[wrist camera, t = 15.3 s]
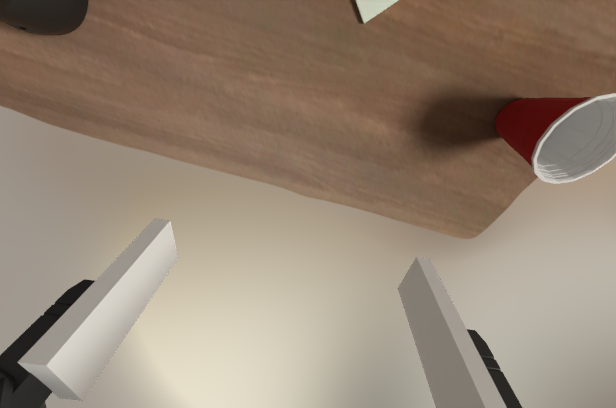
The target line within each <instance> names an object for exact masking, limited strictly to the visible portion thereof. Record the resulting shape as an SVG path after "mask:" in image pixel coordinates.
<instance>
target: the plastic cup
mask: <svg viewBox="0 0 616 408" xmlns="http://www.w3.org/2000/svg"><path fill="white" fill-rule="evenodd" d="M495 129H496V131H497V133H498V134H499V135H500V136H501V137H502V138H503V139H504V140H505V141H506V142H507V143H508V144H509V145H510V146H511V147H512V148H513V149H514V150H515V151H517V152H518V153H519V154H520V155H521V156H522V157H523V158H524V159H525V160H526V161H527V162H528V163H529V164H530V165H531V166H532V169H533V172H534V173H535V174H536V175H537V176H538V177H539V178H540V179H541V180H542V181H544V182H549V183H554V184H559V183H565V182H571V181H575V180H577V179H579V178H582V177H584V176H586V175H588V174H591V173H593V172H595V171H596V170H597V169H599V168H600V167H602V166H603V165H605V164H606V163H608V162H609V161H611V160H612V159H613V158H614V157H615V156H616V93H612V94H606V95H601V96H595V97H584V98H525V99H519V100H515V101H513V102H511V103H509V104H508V105H506V106H505V107H504V108H503V109H502V110H501V111H500V113H499V114H498V116H497V117H496V121H495Z"/></svg>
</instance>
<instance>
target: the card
mask: <svg viewBox="0 0 616 408" xmlns="http://www.w3.org/2000/svg"><path fill="white" fill-rule="evenodd" d="M355 1H356V4H357V7H358V10H359V12H360V15H361V18H362V21H363V24H364V23H365V22H367V21H368V20H370V19H371V18H373V17H374V16H376V15H377V14H379V13H380V12H382V11H383V10H385V9H386V8H388V7H389V6H391V5H392V4H394V3H395V2H397V1H398V0H355Z"/></svg>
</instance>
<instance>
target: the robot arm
mask: <svg viewBox="0 0 616 408" xmlns="http://www.w3.org/2000/svg"><path fill="white" fill-rule="evenodd" d="M87 7H88V0H0V21H4V22H6V23H7V24H9V25H12V26H14V27H16V28H19V29H21V30H24V31H27V32H31V33H36V34H47V35H63V34H67V33H70V32H72V31H74V30H75V29H77V28H78V27H79V26H80V24H81V23H82V21H83V20H84V18H85V15H86V12H87ZM177 259H178V255H177V250H176V245H175V240H174V236H173V231H172V226H171V222H170V220H163V219H156V218H155V219H154V220H153V221H152V222H151V223H150V224H149V225H148V226H147V227H146V229H144V230H143V231H142V232H141V234H140V235H139V236H138V237H137V238H136V239H135V240H134V241H133V242H132V243H131V244H130V245H129V246H128V247H127V248H126V249H125V250H124V251H123V252H122V253H121V254H120V256H119V257H118V258H117V259H116V260H115V261H114V262H113V263H112V264H111V265H110V266H109V267H108V268H107V269H106V270H105V271H104V272H103V273H102V275H101V276H99V278H98V279H97V280H96V281H91V280H83V281H81V282H80V283H78V284H77V285H75V286H73V287H72V288H70V289H69V290H67V291H66V292H65V293H64V294H63V295H62V296H61V297H60V298H59V299H58V300H57V301H56V302H55V304H54V305H52V306H51V307H50V308H49V309H48V310H47V311H46V312H45V313H44V315H43V316H40V318H38V319H37V320H36V321H35V322H34V323H33V324H32V325H31V326H30V327H29V328H28V329H27V330H26V331H25V332H24V333H23V334H22V335H21V336H20V337H19V338H18V339H17V340H16V341H15V342H14V343H13V344H12V345H11V346H10V347H8V348H7V349H6V350H5V351H4V352H3V353H2V354H1V355H0V408H46V404H45V400H46V399H47V398H48V396H49V395H50V394H51V393H52V392H53V393H54V394H55V395H56V396H57V397H59V398H62V399H71V400H82V401H83V399H84V398H85V396H86V395H87V393H88V392H89V390H90V389H91V387H92V386H93V384H94V383H95V381H96V380H97V378H98V377H99V375H100V374H101V372H102V371H103V369H104V368H105V366H106V365H107V363H108V362H109V360H110V359H111V357H112V356H113V354H114V353H115V351H116V350H117V348H118V347H119V345H120V344H121V342H122V341H123V339H124V338H125V336H126V335H127V333H128V332H129V330H130V329H131V327H132V326H133V325H134V323H135V321H136V320H137V318H138V317H139V315H140V314H141V313H142V311H143V310H144V308H145V307H146V305H147V303H148V302H149V301H150V299H151V298H152V296H153V294H154V293H155V292H156V290H157V289H158V287H159V286H160V284H161V283H162V281H163V280H164V278H165V276H166V275H167V274H168V272H169V271H170V269H171V268H172V266H173V265H174V263H175V262H176V260H177ZM398 290H399V293H400V297H401V300H402V303H403V305H404V309H405V312H406V315H407V318H408V321H409V325H410V328H411V331H412V334H413V337H414V340H415V343H416V346H417V349H418V353H419V356H420V359H421V362H422V365H423V368H424V371H425V374H426V377H427V380H428V384H429V387H430V390H431V393H432V396H433V400H434V403H435V406H436V408H522V406H521V405H520V403H519V401H518V399H517V397H516V396H515V394H514V392H513V390H512V389H511V387H510V385H509V383H508V381H507V379H506V378H505V376H504V374H503V372H501V371H500V367H499V365H498V363H497V362H496V360H494V356H493V354H492V353H491V351H490V349H489V347H488V346H487V344H486V342H485V341H484V340H483V339H482V338H481V337H480V335H479V334H478V333H477V332H476V331H475V330H468V329H466V328H465V326H464V324H463V322H462V320H461V318H460V316H459V314H458V312H457V310H456V308H455V306H454V304H453V302H452V300H451V298H450V296H449V295H448V293H447V291H446V289H445V287H444V285H443V283H442V281H441V279H440V277H439V275H438V273H437V271H436V269H435V267H434V265H433V263H432V262H431V260H430V259H428V258H421V257H416V259H415V260H414V262H413V264H412V265H411V267H410V269H409V271H408V272H407V274H406V276H405V277H404V279H403V280H402V282H401V284H400V286H399V287H398Z"/></svg>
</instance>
